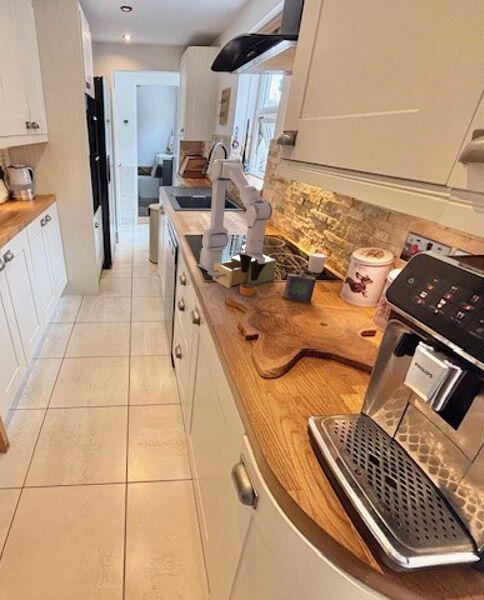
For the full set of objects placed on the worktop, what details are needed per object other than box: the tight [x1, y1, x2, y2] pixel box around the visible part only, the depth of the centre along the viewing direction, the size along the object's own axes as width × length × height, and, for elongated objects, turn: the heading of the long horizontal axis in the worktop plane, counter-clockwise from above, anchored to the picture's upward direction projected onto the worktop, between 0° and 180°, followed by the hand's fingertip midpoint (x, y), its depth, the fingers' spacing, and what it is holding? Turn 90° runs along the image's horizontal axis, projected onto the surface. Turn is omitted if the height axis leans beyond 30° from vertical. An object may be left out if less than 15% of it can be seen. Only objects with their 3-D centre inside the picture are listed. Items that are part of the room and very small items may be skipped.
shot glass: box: [307, 252, 329, 274], centre depth 140 cm, size 7×7×7 cm
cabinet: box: [230, 254, 277, 286], centre depth 130 cm, size 14×11×9 cm
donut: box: [239, 283, 256, 297], centre depth 119 cm, size 5×5×3 cm
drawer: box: [206, 260, 248, 289], centre depth 125 cm, size 17×9×7 cm, turn 119°
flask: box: [282, 270, 317, 304], centre depth 113 cm, size 9×3×11 cm, turn 65°
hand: (249, 276), depth 117 cm, fingers open, 7 cm apart
